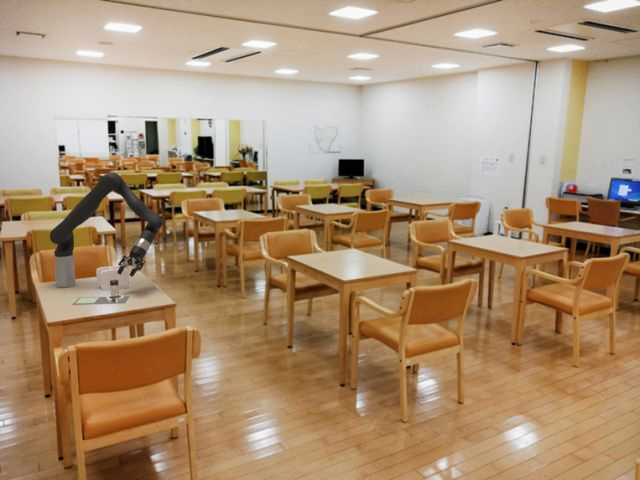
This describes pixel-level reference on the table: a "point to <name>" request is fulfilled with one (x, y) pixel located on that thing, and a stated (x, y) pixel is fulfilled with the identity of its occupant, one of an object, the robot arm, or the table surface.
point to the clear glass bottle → (114, 289)
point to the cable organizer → (112, 277)
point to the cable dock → (101, 300)
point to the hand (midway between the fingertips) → (124, 274)
